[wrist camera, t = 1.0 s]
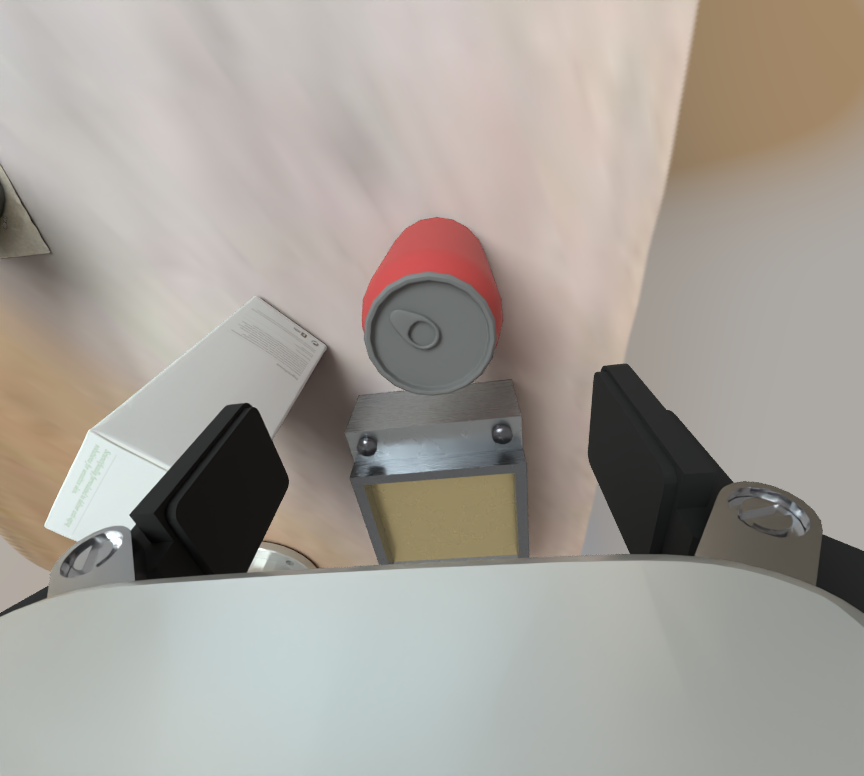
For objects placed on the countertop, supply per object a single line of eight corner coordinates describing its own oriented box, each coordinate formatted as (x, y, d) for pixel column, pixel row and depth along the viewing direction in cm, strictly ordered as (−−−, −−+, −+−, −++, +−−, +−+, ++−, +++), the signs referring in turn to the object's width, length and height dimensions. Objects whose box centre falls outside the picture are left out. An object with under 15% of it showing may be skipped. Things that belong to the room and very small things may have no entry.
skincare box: (258, 292, 28) (82, 418, 15) (335, 348, 30) (243, 504, 17) (208, 368, 31) (30, 528, 18) (280, 414, 33) (168, 588, 20)
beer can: (424, 193, 24) (406, 221, 14) (506, 256, 26) (543, 323, 16) (371, 279, 27) (323, 356, 17) (448, 331, 29) (447, 429, 19)
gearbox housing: (518, 531, 40) (530, 594, 34) (399, 539, 41) (391, 600, 36) (511, 379, 31) (525, 430, 25) (358, 395, 32) (339, 447, 26)
